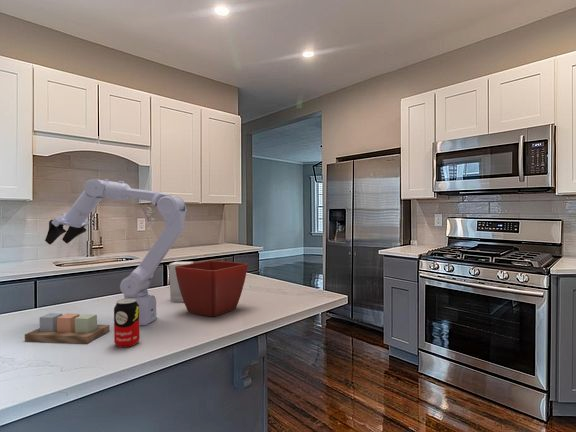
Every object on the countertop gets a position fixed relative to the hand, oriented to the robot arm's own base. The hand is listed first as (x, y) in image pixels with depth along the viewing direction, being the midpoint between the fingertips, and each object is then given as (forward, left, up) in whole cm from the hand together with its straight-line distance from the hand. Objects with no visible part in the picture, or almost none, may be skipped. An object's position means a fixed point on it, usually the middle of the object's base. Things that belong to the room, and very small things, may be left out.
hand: (56, 242), depth 118 cm
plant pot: (-47, -17, -27) cm, 57 cm away
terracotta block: (-14, +13, -25) cm, 31 cm away
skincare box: (-30, -30, -27) cm, 50 cm away
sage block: (-19, +13, -25) cm, 34 cm away
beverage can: (-34, +17, -27) cm, 47 cm away
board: (-14, +13, -26) cm, 32 cm away
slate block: (-8, +13, -25) cm, 29 cm away
